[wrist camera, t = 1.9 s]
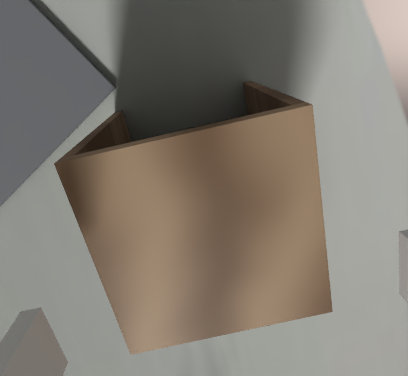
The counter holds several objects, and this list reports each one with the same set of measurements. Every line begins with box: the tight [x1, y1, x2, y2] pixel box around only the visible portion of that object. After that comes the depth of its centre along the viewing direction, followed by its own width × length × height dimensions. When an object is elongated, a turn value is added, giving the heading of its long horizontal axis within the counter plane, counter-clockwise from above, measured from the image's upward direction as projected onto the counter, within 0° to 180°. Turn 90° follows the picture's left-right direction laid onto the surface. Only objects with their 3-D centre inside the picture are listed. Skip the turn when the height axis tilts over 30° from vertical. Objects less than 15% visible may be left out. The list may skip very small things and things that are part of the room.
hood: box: [54, 81, 332, 355], centre depth 22 cm, size 11×11×13 cm
